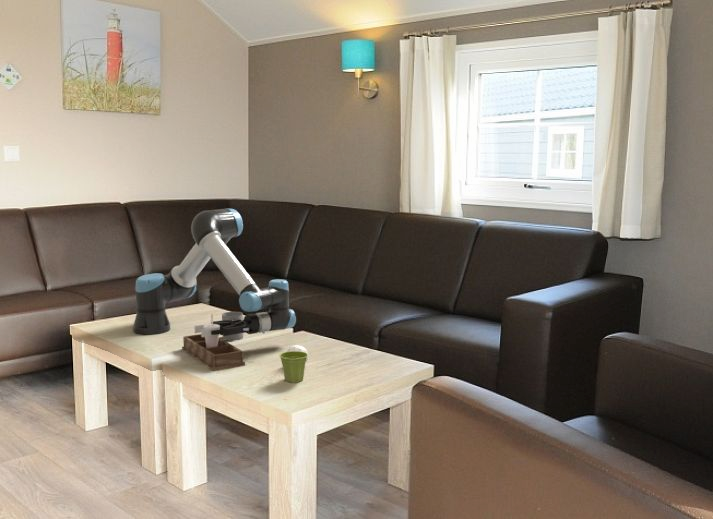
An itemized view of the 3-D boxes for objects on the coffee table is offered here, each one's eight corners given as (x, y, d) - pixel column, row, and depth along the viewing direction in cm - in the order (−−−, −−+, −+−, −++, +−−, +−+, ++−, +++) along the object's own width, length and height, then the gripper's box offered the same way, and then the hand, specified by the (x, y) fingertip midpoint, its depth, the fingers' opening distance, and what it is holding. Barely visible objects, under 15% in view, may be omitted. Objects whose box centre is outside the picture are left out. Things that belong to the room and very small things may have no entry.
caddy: (182, 349, 280) (181, 336, 279) (211, 344, 286) (211, 332, 285) (213, 370, 253) (212, 356, 252) (245, 365, 259) (244, 351, 258)
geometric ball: (291, 374, 257) (277, 357, 256) (302, 361, 264) (288, 344, 262) (305, 368, 253) (291, 350, 251) (316, 354, 259) (302, 337, 258)
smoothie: (224, 350, 271) (223, 313, 269) (215, 354, 265) (214, 317, 263) (209, 348, 273) (207, 312, 271) (200, 353, 267) (198, 315, 265)
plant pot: (280, 375, 247) (279, 351, 246) (307, 375, 248) (307, 350, 247) (279, 384, 238) (279, 359, 237) (308, 384, 239) (308, 358, 237)
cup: (238, 341, 291) (238, 316, 289) (219, 340, 293) (218, 315, 291) (246, 335, 299) (245, 312, 298) (227, 334, 301) (226, 311, 299)
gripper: (267, 338, 270) (208, 347, 258) (246, 327, 286) (189, 335, 274) (267, 318, 269) (207, 326, 256) (245, 308, 285) (188, 316, 273)
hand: (198, 331), depth 265 cm, fingers closed on smoothie, 6 cm apart
